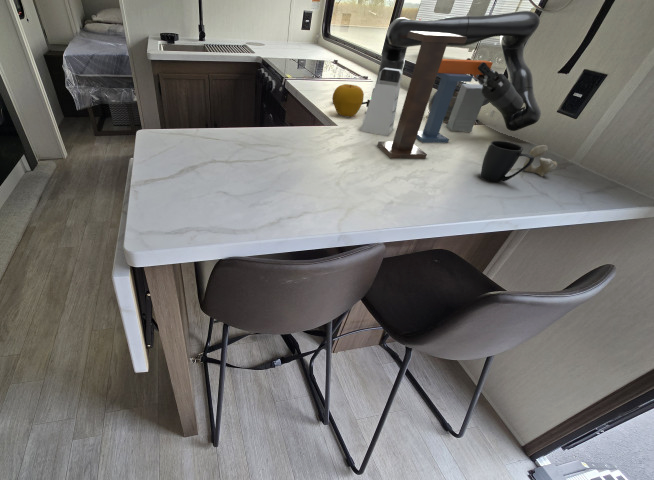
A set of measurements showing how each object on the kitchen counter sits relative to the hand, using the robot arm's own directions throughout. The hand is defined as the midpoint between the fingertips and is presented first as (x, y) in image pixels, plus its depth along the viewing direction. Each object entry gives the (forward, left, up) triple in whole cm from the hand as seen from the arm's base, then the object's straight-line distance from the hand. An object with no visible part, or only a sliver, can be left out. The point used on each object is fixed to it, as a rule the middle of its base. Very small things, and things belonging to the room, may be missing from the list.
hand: (473, 62), depth 114 cm
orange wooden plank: (-5, -4, -3) cm, 7 cm away
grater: (-24, -8, -24) cm, 35 cm away
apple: (-42, +3, -24) cm, 48 cm away
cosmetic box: (+2, +16, -24) cm, 29 cm away
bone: (+31, -16, -24) cm, 43 cm away
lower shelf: (-5, -4, -24) cm, 25 cm away
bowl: (-7, +29, -24) cm, 38 cm away
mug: (+21, -32, -24) cm, 45 cm away
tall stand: (-9, -27, -24) cm, 37 cm away
